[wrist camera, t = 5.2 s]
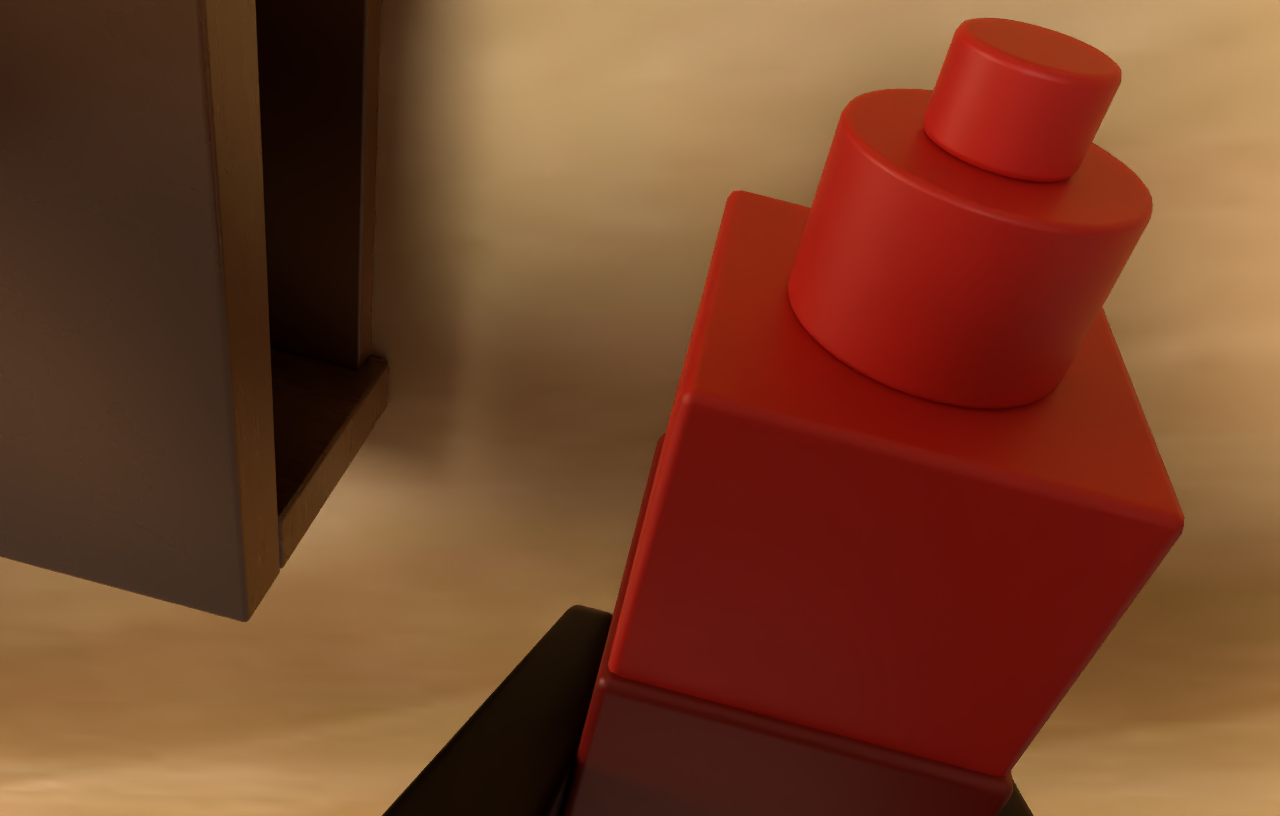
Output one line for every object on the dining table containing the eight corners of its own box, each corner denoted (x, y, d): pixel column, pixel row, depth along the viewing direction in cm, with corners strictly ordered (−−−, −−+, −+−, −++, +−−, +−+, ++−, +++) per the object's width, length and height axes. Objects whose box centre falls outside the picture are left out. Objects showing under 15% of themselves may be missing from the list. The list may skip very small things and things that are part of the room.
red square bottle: (791, 853, 13) (777, 1118, 10) (566, 793, 13) (502, 1043, 10) (1230, 36, 6) (1440, 235, 4) (789, -73, 7) (754, 63, 4)
